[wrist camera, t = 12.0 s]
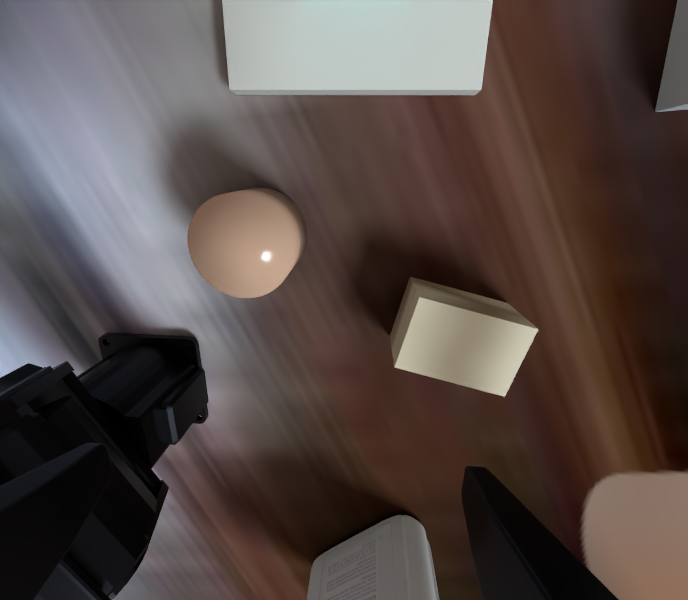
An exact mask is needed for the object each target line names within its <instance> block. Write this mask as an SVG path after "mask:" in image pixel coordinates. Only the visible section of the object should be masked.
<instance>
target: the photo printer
mask: <svg viewBox="0 0 688 600" xmlns="http://www.w3.org/2000/svg"><path fill="white" fill-rule="evenodd" d="M307 600H439V596H438V590H437V584H436V578H435V572H434V566H433V560H432V554H431V549H430V545H429V542H428V540H427V538H426V532H425V529H424V527H423V526H422V524H421V523H420V522H419V521H417V520H416V519H414V518H413V517H410V516H407V515H396V516H393V517H390V518H388V519H386V520H384V521H381V522H380V523H378V524H376V525H374V526H372V527H370V528H368V529H366V530H365V531H363V532H361V533H359V534H357V535H355V536H353V537H351V538H350V539H348V540H346V541H344V542H342V543H340V544H339V545H337V546H335V547H333V548H331V549H330V550H328V551H326V552H324V553H323V554H321V555H320V556H319V557H317V558H316V559H315V561H314V562H313V565H312V569H311V575H310V582H309V588H308V596H307Z"/></svg>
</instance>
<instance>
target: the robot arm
mask: <svg viewBox="0 0 688 600" xmlns="http://www.w3.org/2000/svg"><path fill="white" fill-rule="evenodd" d="M107 340H108V341H109V342H110V343H109V342H108V341H107ZM187 343H190V344H191V345H192V347H190V346H188V344H187ZM99 346H100V350H101V354H102V358H103V360H102V361H100V362H98V363H97V364H95V365H94V366H92V367H91V368H89V369H88V370H86V371H85V372H83V373H82V374H80V375H79V376H77V377H76V375H75V374H74V373H73V372H72V371H73V370H74V369H73V368H72V367H71V365H70V364H69V363H68V362H67V361H66V362H64V363H62V364H60V365H58V366H56V367H54V368H51V366H48V367H44V368H42V367H39V366H36V365H32V364H29V363H28V364H26V365H24V366H22V367H20V368H18V369H16V370H14V371H13V372H11V373H9V374H7V375H5V376H3V377H1V378H0V600H112V599H113V598H114V597H115V596H116V595H117V594H118V593H119V592H120V591H121V590H122V588H123V587H124V586H125V585H126V584H127V583H128V581H129V580H130V578H131V577H132V576H133V574H134V573H135V572H136V570H137V568H138V567H139V565H140V563H141V562H142V560H143V558H144V555H145V553H146V551H147V548H148V545H149V543H150V540H151V537H152V534H153V531H154V528H155V526H156V523H157V520H158V517H159V514H160V511H161V509H162V506H163V503H164V500H165V497H166V495H167V492H168V489H169V487H168V486H167V485H166V483H165V482H164V481H163V480H161V481H160V479H159V478H158V477H157V476H156V474H155V473H154V472H153V471H152V467H153V466H154V465H155V463H156V462H157V461H158V459H159V458H160V457H161V455H162V454H163V453H164V452H165V450H166V449H167V448H168V446H169V445H170V444H171V445H175V444H176V443H177V442H179V441H180V439H181V438H182V437H183V435H184V434H185V432H186V431H187V430H188V428H189V427H190V426H191V424H192V423H197V424H201V423H204V422H205V420H206V419H207V417H208V409H207V403H208V394H207V386H206V379H205V372H204V370H203V368H202V365H201V358H200V350H199V344H198V341H197V340H196V339H195V338H194V337H190V336H167V335H144V334H121V333H106V334H104V335H102V336H101V337H100V338H99ZM199 415H201V416H202V417H200V416H199ZM462 503H463V508H464V514H465V519H466V524H467V529H468V534H469V540H470V545H471V550H472V555H473V560H474V565H475V570H476V575H477V578H478V582H479V586H480V590H481V593H482V596H483V600H618V599H617V598H616V597H615V596H614V595H613V594H612V593H611V592H610V591H609V590H608V589H607V588H606V587H605V586H604V585H603V584H602V583H601V582H600V581H599V580H598V579H597V578H596V577H595V576H594V575H593V574H592V573H591V572H590V571H589V570H588V569H587V568H586V567H585V566H584V565H583V564H582V563H581V562H580V561H579V560H578V559H577V558H576V557H575V556H574V555H573V554H572V553H571V552H570V551H569V550H568V549H567V548H566V547H565V546H564V545H563V544H562V543H561V542H560V541H559V540H558V539H557V538H556V537H555V536H554V535H553V534H552V533H551V532H550V531H549V530H548V529H547V528H546V527H545V526H544V525H543V524H542V523H541V522H540V521H539V520H538V519H537V518H536V517H535V516H534V515H533V514H532V513H531V512H530V511H529V510H528V509H527V508H526V507H525V506H524V505H523V504H522V503H521V502H520V501H519V500H518V499H517V498H516V497H515V496H514V495H513V494H512V493H511V492H510V491H509V490H508V489H507V488H506V487H505V486H504V485H503V484H502V483H501V482H500V481H499V480H498V479H497V478H496V477H495V476H494V475H493V474H492V473H491V472H490V471H489V470H488V469H487V468H486V467H485V466H482V465H467V466H466V468H465V473H464V479H463V485H462Z"/></svg>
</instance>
